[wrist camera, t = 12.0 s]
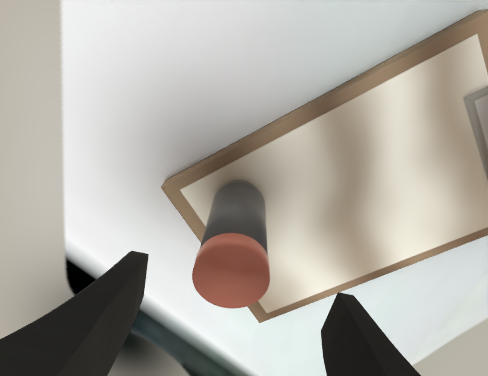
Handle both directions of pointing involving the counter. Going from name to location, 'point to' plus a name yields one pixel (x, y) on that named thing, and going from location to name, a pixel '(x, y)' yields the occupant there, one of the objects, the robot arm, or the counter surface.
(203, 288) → the marker
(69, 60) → the counter surface
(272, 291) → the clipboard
